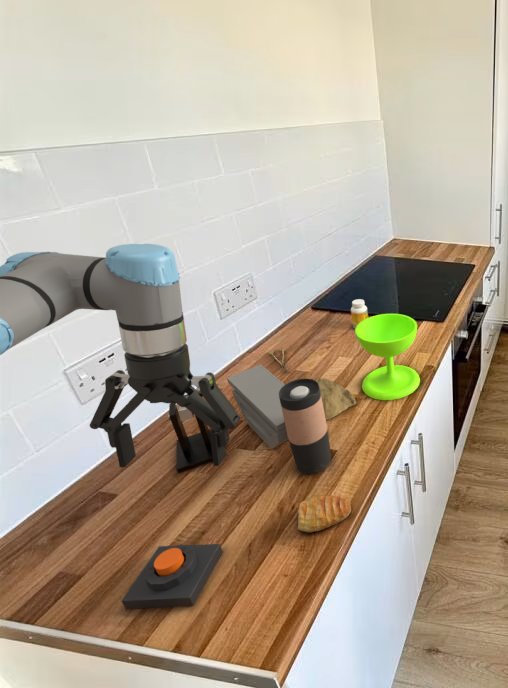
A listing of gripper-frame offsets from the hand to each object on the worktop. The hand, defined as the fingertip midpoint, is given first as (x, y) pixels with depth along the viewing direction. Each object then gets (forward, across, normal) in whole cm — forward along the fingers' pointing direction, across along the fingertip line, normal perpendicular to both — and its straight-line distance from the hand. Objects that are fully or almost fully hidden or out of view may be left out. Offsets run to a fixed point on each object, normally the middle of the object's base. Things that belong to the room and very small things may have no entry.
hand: (174, 461), depth 72 cm
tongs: (+12, +1, -58) cm, 59 cm away
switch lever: (+7, +11, -26) cm, 29 cm away
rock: (+12, -19, -33) cm, 40 cm away
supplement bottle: (+8, -18, -78) cm, 81 cm away
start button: (+15, -1, +8) cm, 16 cm away
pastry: (+15, -22, -2) cm, 27 cm away
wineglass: (+10, -32, -44) cm, 55 cm away
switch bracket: (+16, +8, -23) cm, 29 cm away
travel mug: (+14, -18, -16) cm, 28 cm away
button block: (+18, -2, +7) cm, 20 cm away
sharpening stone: (+14, -6, -28) cm, 32 cm away
